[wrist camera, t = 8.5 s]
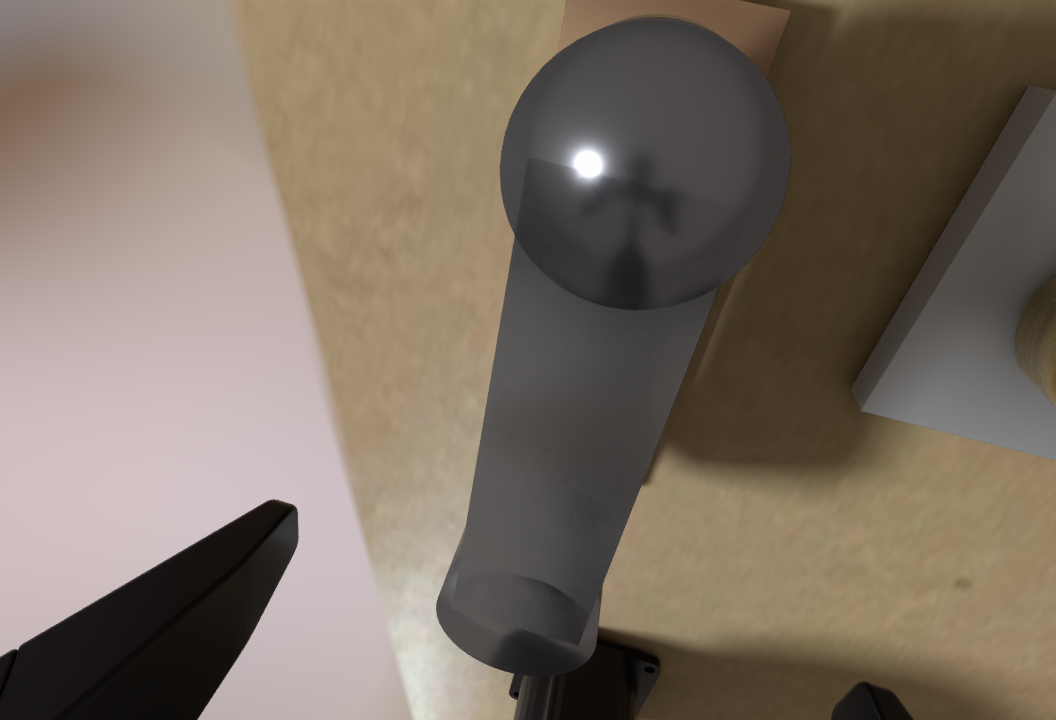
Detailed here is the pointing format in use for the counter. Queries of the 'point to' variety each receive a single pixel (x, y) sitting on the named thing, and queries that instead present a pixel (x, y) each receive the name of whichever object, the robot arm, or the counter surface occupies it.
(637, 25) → the grey knobbed rod
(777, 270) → the counter surface
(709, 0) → the peg rack
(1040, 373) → the lever switch
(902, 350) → the plate
